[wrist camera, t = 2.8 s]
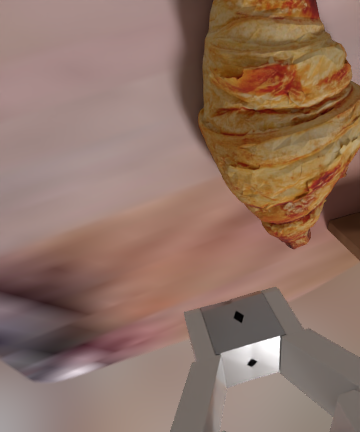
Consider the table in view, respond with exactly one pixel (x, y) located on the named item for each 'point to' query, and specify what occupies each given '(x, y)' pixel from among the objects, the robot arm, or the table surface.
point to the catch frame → (347, 232)
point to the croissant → (278, 110)
